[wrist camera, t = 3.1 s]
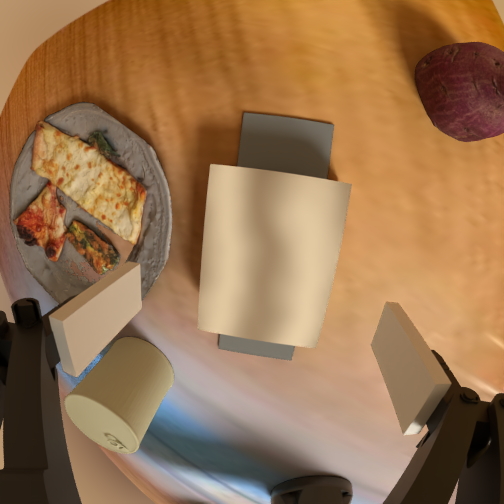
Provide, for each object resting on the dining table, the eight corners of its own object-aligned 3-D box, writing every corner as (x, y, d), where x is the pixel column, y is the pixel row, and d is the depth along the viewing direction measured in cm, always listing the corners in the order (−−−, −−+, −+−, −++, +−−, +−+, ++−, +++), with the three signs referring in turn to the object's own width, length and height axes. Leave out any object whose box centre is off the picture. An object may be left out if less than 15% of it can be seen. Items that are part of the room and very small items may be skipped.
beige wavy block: (340, 181, 24) (351, 184, 20) (312, 323, 28) (316, 348, 24) (223, 165, 25) (210, 163, 21) (209, 307, 29) (197, 329, 25)
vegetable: (444, 155, 25) (520, 208, 12) (391, 76, 22) (453, 65, 10) (501, 112, 20) (588, 141, 7) (454, 33, 17) (534, 12, 5)
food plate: (4, 228, 31) (-12, 233, 27) (65, 79, 24) (47, 73, 21) (119, 342, 33) (107, 357, 30) (222, 191, 27) (213, 195, 24)
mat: (333, 125, 23) (334, 124, 23) (291, 358, 30) (291, 360, 30) (244, 113, 24) (243, 112, 23) (219, 347, 31) (218, 348, 30)
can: (144, 399, 35) (109, 459, 23) (100, 351, 34) (50, 405, 22) (188, 380, 33) (155, 453, 21) (138, 324, 31) (83, 387, 20)
